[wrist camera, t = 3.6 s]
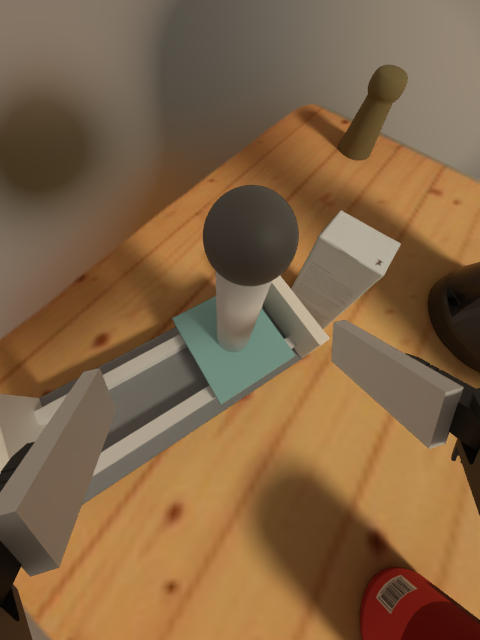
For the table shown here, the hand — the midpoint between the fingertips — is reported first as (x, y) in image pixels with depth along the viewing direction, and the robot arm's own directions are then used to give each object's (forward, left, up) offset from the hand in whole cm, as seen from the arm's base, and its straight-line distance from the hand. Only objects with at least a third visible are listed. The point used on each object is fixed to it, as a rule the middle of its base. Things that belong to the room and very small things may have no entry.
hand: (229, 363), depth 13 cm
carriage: (-3, -3, -10) cm, 10 cm away
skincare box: (-15, -3, -13) cm, 20 cm away
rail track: (+3, -3, -13) cm, 14 cm away
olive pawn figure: (-43, -24, -13) cm, 51 cm away
